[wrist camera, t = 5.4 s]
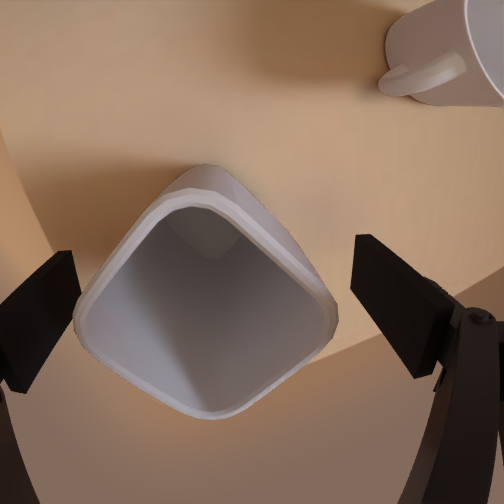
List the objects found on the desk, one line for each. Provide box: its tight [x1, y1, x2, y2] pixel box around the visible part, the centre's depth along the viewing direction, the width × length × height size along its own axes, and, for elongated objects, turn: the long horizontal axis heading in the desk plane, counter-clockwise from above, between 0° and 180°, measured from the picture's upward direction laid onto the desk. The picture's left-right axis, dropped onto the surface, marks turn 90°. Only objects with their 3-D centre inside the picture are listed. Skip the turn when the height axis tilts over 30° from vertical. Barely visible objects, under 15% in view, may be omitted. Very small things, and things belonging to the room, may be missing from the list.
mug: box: [378, 0, 504, 108], centre depth 16 cm, size 12×8×10 cm
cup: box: [72, 164, 339, 420], centre depth 17 cm, size 7×7×15 cm
